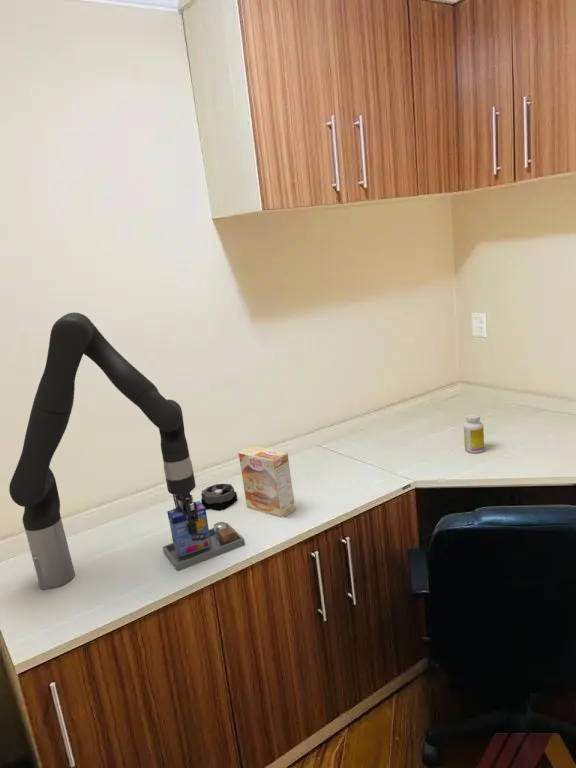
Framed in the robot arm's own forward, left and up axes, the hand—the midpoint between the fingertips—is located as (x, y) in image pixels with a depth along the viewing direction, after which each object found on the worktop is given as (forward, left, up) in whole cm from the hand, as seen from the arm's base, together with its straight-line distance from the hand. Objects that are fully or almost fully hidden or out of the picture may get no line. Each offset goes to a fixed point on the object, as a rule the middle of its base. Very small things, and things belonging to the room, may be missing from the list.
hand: (189, 529), depth 162 cm
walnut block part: (+10, -3, -7) cm, 12 cm away
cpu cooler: (+18, +24, -8) cm, 31 cm away
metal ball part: (+10, +2, -7) cm, 12 cm away
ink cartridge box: (0, 0, -6) cm, 6 cm away
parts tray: (+3, 0, -8) cm, 8 cm away
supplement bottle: (+106, -2, -8) cm, 106 cm away
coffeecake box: (+29, +9, -8) cm, 32 cm away
